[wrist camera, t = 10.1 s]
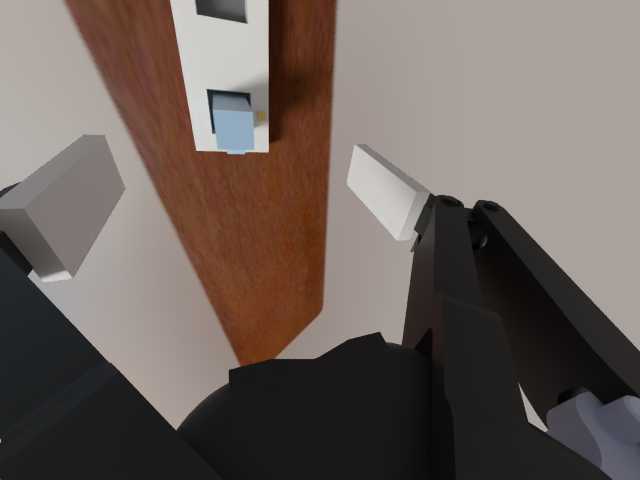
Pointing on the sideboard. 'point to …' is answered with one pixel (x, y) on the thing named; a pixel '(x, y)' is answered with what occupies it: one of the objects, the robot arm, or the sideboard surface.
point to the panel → (224, 62)
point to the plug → (233, 123)
